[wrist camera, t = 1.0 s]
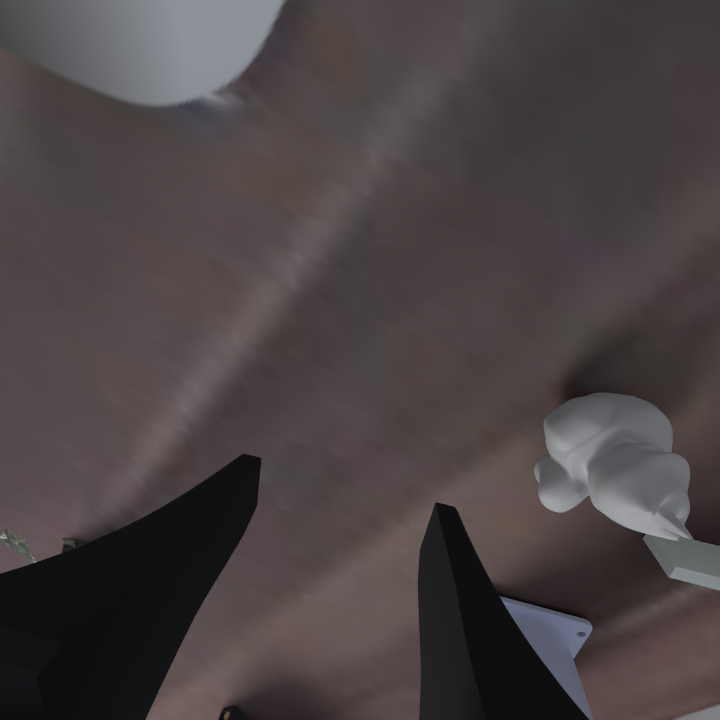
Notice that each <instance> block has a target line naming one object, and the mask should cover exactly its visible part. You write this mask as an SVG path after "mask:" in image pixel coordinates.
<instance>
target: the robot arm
mask: <svg viewBox="0 0 720 720" xmlns="http://www.w3.org/2000/svg"><path fill="white" fill-rule="evenodd" d="M260 467H261V458H259V457H255V456H251V455H247V454H242V455H240V456H239V457H238V458H236V459H235V460H233V461H232V462H230V463H229V464H228V465H226V466H225V467H223V468H222V469H221V470H219V471H218V472H216V473H215V474H213V475H212V476H211V477H209V478H208V479H206V480H205V481H203V482H202V483H200V484H198V485H197V486H195V487H194V488H192V489H191V490H189V491H188V492H186V493H185V494H183V495H181V496H180V497H178V498H176V499H175V500H173V501H171V502H170V503H168V504H166V505H165V506H163V507H161V508H160V509H158V510H156V511H154V512H152V513H151V514H149V515H147V516H145V517H143V518H141V519H139V520H137V521H135V522H133V523H131V524H129V525H127V526H125V527H123V528H121V529H119V530H117V531H114V532H112V533H110V534H107V535H105V536H103V537H101V538H98V539H96V540H94V541H91V542H89V543H87V544H84V545H82V546H79V547H77V548H74V549H72V550H69V551H66V552H64V553H61V554H59V555H56V556H53V557H50V558H47V559H44V560H42V561H39V562H36V563H33V564H30V565H27V566H24V567H21V568H18V569H14V570H11V571H8V572H4V573H1V574H0V720H145V719H146V717H147V715H148V713H149V711H150V708H151V706H152V704H153V702H154V700H155V697H156V695H157V693H158V691H159V689H160V687H161V685H162V683H163V681H164V678H165V676H166V674H167V672H168V670H169V668H170V666H171V664H172V662H173V660H174V658H175V655H176V653H177V651H178V649H179V647H180V645H181V643H182V641H183V639H184V637H185V635H186V633H187V631H188V629H189V627H190V625H191V623H192V621H193V619H194V617H195V615H196V613H197V612H198V610H199V608H200V606H201V605H202V603H203V601H204V599H205V598H206V596H207V594H208V593H209V591H210V589H211V588H212V586H213V585H214V583H215V581H216V580H217V578H218V576H219V575H220V573H221V571H222V570H223V568H224V566H225V565H226V563H227V562H228V560H229V558H230V557H231V555H232V553H233V552H234V550H235V548H236V547H237V545H238V543H239V542H240V540H241V538H242V537H243V535H244V533H245V531H246V528H247V526H248V524H249V522H250V520H251V518H252V515H253V513H254V511H255V509H256V507H257V499H258V489H259V478H260ZM418 602H419V628H420V653H421V693H420V716H419V720H593V717H592V714H591V711H590V708H589V705H588V702H587V699H586V696H585V693H584V690H583V687H582V684H581V681H580V678H579V675H578V672H577V669H576V666H575V663H574V660H573V659H574V658H575V656H576V655H577V653H578V652H579V650H580V649H581V647H582V646H583V644H584V642H585V641H586V639H587V638H588V636H589V635H590V633H591V632H592V630H593V628H592V625H591V623H590V622H589V621H588V620H586V619H583V618H580V617H576V616H572V615H568V614H565V613H561V612H557V611H553V610H550V609H546V608H542V607H539V606H535V605H531V604H527V603H524V602H520V601H516V600H513V599H509V598H505V597H501V596H499V594H498V593H497V591H496V589H495V587H494V586H493V584H492V582H491V580H490V578H489V576H488V575H487V573H486V571H485V569H484V567H483V565H482V563H481V561H480V559H479V557H478V555H477V553H476V551H475V549H474V547H473V545H472V543H471V541H470V538H469V536H468V534H467V532H466V530H465V527H464V525H463V523H462V521H461V518H460V516H459V514H458V511H457V510H456V508H455V507H453V506H449V505H445V504H441V503H437V502H436V503H435V506H434V509H433V512H432V515H431V518H430V521H429V524H428V527H427V530H426V533H425V536H424V539H423V542H422V545H421V548H420V558H419V572H418Z"/></svg>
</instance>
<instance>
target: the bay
mask: <svg viewBox="0 0 720 720" xmlns="http://www.w3.org/2000/svg"><path fill="white" fill-rule="evenodd" d="M643 540H644V542H645V543H646V545H647V546H648V547H649V549H650V550H651V552H652V553H653V555H654V556H655V558H656V559H657V561H658V562H659V564H660V565H661V567H662V568H663V570H664V571H665V573H666V574H667V576H668V577H669V578H673V579H677V580H681V581H685V582H689V583H693V584H696V585H700V586H704V587H708V588H712V589H716V590H720V546H717V545H713V544H709V543H705V542H701V541H697V540H694V541H692V540H690V539H687V538H685V537H681V539H680V541H678V540H677V541H674V540H670V539H665V538H661V537H657V536H653V535H649V534H645V536H644V537H643Z"/></svg>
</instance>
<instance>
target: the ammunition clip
mask: <svg viewBox="0 0 720 720" xmlns="http://www.w3.org/2000/svg"><path fill="white" fill-rule="evenodd" d="M218 720H251V719H250V718H249V717H248V716H247V715H245V714H244V713H243V712H242V711H241V710H239V709H238V708H237V707H232V708H229V709H226V710H223V711H221V714H220V717H219V719H218Z"/></svg>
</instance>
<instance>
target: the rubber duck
mask: <svg viewBox="0 0 720 720" xmlns="http://www.w3.org/2000/svg"><path fill="white" fill-rule="evenodd" d="M544 432H545V437H546V446H547V449H548V452H549V454H548V455H545V456H544V457H542V458H541V459H540V460H539V461H538V462H537V463H536V465H535V467H534V474H535V477H536V479H537V481H538V482H539V490H538V493H539V498H540V501H541V502H542V503H543V505H544V506H545V507H547V508H548V509H550V510H552V511H554V512H565V511H568V510H570V509H572V508H573V507H575V506H576V505H578V504H579V503H580V502H582V501H583V499H584V498H586V497H587V496H589V495H590V498H591V501H592V503H593V505H594V506H595V507H596V508H597V509H598V510H599V511H601V512H602V513H604V514H605V515H606V516H608V517H609V518H610V519H611V520H613V521H615V522H617V523H619V524H620V525H622V526H624V527H627V528H630V529H632V530H635V531H638V532H641V533H645V534H649V535H653V536H657V537H661V538H665V539H670V540H674V541H677V540H678V541H680V539H681V537H685V538H687V539H690V540H692V541H694V539H693V538H692V536H691V534H690V533H689V531H688V530H687V529H686V527H685V526H684V525H685V522H686V520H687V517H688V515H689V513H690V503H689V498H688V495H687V492H688V486H689V481H690V468H689V465H688V462H687V461H686V460H685V459H684V458H683V457H682V456H680V455H678V454H675V453H672V442H673V431H672V426H671V423H670V421H669V420H668V418H667V417H666V416H665V415H664V414H663V413H662V412H661V411H660V410H659V409H658V408H657V407H656V406H654V405H653V404H651V403H649V402H647V401H645V400H642V399H640V398H638V397H635V396H631V395H623V394H615V393H593V394H589V395H587V396H583V397H576V398H573V399H570V400H568V401H567V402H565V403H564V404H562V405H561V406H559V407H558V408H556V409H555V410H554V411H552V412H551V413H549V414H548V415H547V416H546V417H545V419H544Z"/></svg>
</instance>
